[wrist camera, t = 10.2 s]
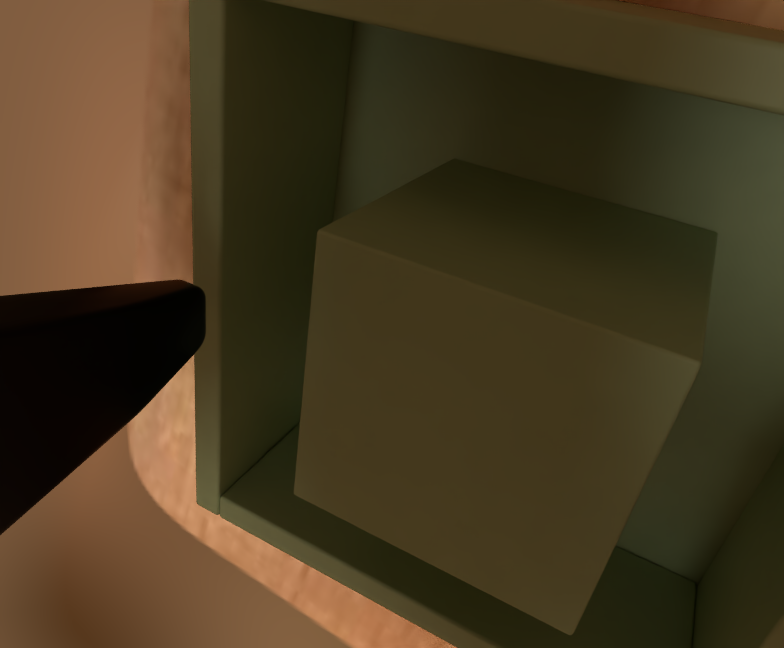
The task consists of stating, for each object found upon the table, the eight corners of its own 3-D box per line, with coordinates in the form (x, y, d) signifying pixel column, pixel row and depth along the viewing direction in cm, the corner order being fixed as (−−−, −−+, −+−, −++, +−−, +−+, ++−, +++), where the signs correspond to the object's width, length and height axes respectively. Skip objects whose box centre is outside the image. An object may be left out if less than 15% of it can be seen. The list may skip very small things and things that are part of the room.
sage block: (412, 364, 14) (291, 495, 10) (453, 157, 11) (315, 228, 8) (624, 449, 12) (571, 638, 9) (719, 232, 10) (703, 363, 6)
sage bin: (305, 404, 16) (194, 505, 13) (348, -48, 11) (185, -70, 8) (719, 593, 13) (709, 789, 10) (1049, 79, 8) (1260, 130, 5)
